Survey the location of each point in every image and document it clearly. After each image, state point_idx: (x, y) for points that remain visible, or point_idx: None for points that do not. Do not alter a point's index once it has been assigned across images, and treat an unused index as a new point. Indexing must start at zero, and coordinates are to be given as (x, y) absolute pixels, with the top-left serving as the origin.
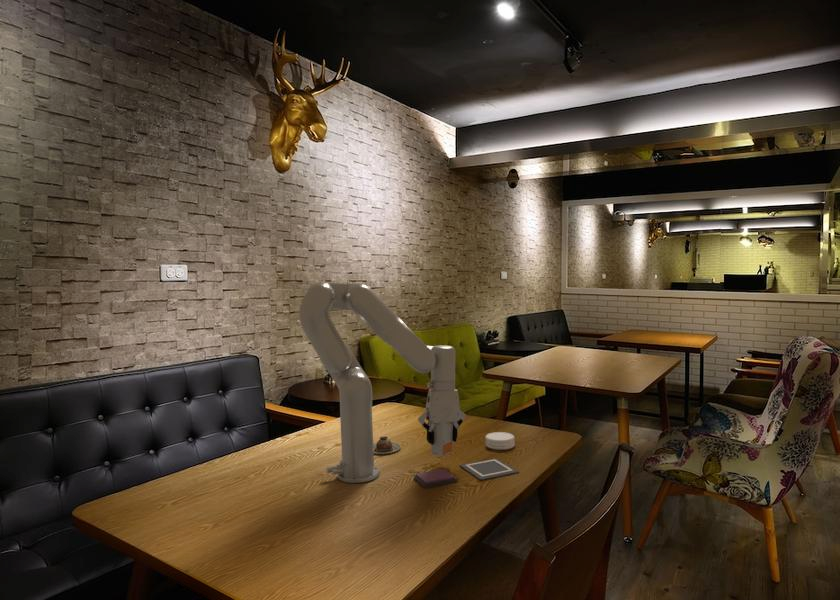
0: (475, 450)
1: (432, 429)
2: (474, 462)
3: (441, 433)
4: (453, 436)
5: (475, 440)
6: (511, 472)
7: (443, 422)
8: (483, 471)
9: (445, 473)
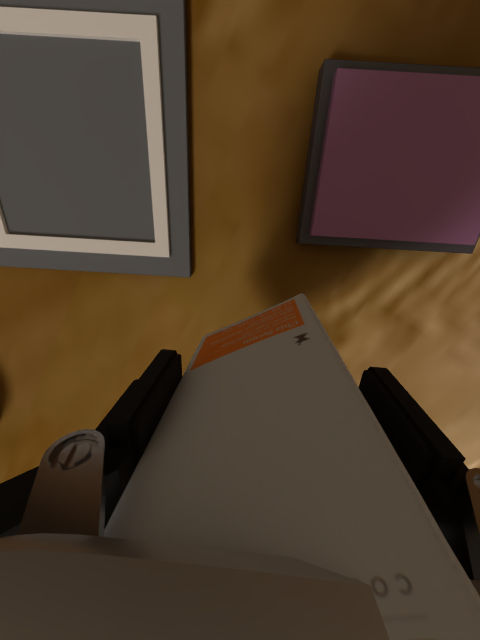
0: (56, 396)
1: (475, 497)
2: (111, 269)
3: (358, 391)
4: (168, 388)
5: (25, 471)
6: None
7: (433, 602)
8: (113, 115)
9: (349, 154)
